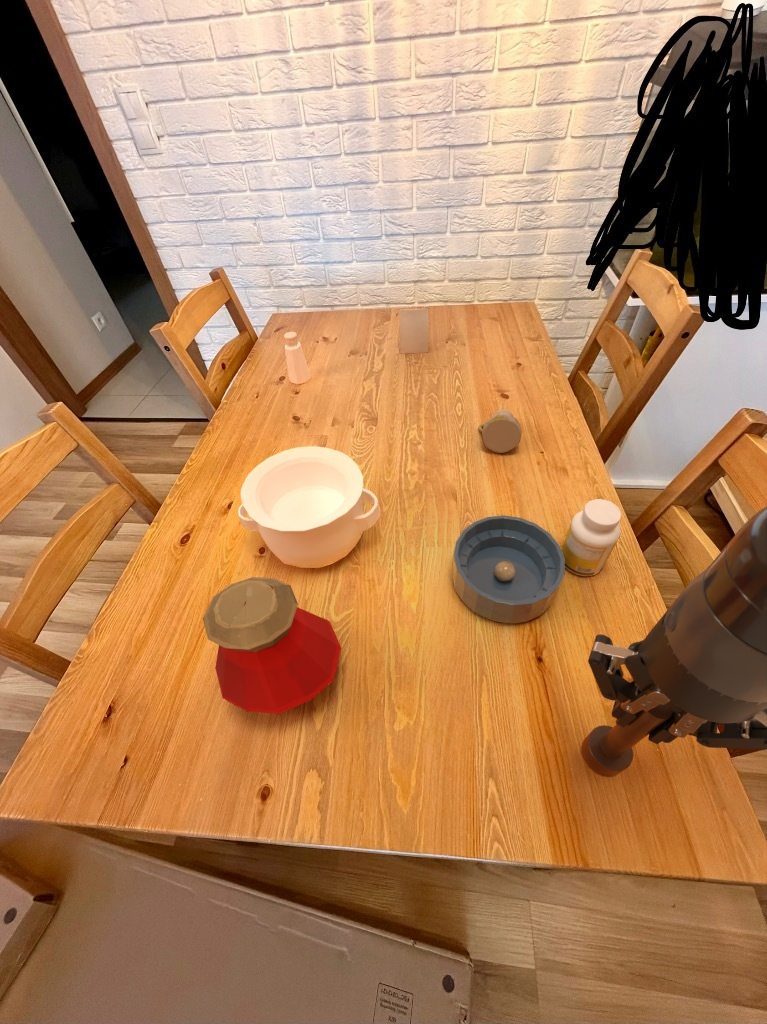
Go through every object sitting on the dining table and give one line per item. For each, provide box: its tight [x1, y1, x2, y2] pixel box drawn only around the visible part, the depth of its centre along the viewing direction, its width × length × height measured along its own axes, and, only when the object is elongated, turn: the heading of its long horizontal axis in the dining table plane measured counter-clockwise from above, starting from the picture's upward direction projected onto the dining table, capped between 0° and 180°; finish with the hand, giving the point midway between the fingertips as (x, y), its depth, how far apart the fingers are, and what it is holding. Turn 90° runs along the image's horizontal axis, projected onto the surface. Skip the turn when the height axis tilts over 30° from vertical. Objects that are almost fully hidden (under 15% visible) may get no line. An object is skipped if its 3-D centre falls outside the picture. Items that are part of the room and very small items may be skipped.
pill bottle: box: [560, 498, 622, 577], centre depth 66 cm, size 6×6×12 cm
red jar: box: [202, 576, 342, 715], centre depth 54 cm, size 16×14×20 cm
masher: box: [580, 704, 673, 778], centre depth 44 cm, size 4×4×16 cm
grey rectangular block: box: [398, 307, 430, 355], centre depth 110 cm, size 4×7×10 cm, turn 89°
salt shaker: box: [283, 331, 312, 385], centre depth 104 cm, size 5×5×11 cm
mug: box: [477, 409, 523, 454], centre depth 88 cm, size 8×10×10 cm
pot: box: [237, 445, 381, 569], centre depth 72 cm, size 22×17×12 cm
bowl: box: [451, 514, 566, 624], centre depth 67 cm, size 15×15×6 cm
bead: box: [495, 561, 516, 581], centre depth 68 cm, size 3×3×3 cm
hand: (637, 723), depth 42 cm, fingers closed on masher, 2 cm apart
